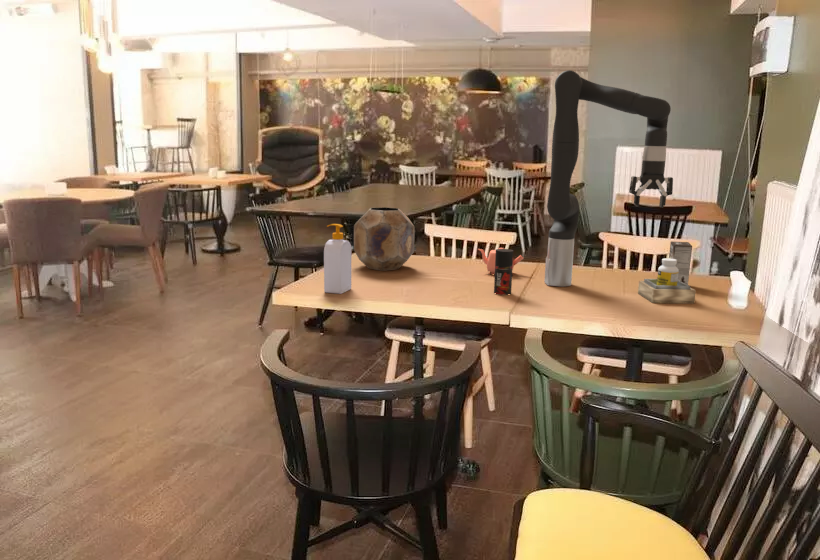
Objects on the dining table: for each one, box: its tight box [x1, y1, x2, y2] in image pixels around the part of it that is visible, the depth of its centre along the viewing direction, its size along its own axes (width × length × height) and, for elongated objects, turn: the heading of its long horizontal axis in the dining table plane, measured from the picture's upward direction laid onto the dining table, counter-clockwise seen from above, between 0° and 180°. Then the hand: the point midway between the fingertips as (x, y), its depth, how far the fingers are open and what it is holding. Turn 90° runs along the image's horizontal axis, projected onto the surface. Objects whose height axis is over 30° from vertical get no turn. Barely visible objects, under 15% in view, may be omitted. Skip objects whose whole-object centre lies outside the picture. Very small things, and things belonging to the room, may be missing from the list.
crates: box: [637, 278, 697, 305], centre depth 231 cm, size 14×14×6 cm
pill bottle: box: [656, 257, 679, 286], centre depth 230 cm, size 6×6×12 cm
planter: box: [353, 206, 416, 272], centre depth 273 cm, size 22×24×24 cm
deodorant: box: [493, 248, 514, 296], centre depth 233 cm, size 6×6×15 cm
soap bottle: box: [323, 223, 352, 295], centre depth 231 cm, size 9×7×23 cm
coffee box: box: [668, 241, 693, 285], centre depth 250 cm, size 9×6×16 cm
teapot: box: [477, 247, 524, 275], centre depth 268 cm, size 14×12×10 cm
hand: (649, 206), depth 237 cm, fingers open, 8 cm apart
